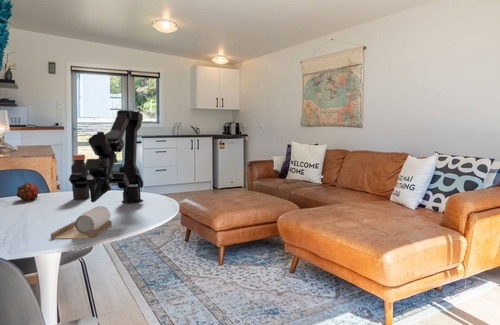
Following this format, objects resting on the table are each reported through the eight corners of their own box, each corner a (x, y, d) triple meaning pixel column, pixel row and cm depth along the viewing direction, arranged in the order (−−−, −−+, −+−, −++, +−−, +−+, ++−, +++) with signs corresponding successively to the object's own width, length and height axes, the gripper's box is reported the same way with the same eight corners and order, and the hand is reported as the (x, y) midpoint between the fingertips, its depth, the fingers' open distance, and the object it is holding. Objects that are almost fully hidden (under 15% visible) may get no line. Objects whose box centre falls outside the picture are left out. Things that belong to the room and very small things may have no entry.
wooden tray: (75, 225, 118) (75, 221, 118) (111, 225, 117) (111, 220, 117) (51, 238, 104) (50, 233, 104) (91, 238, 103) (91, 233, 103)
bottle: (80, 196, 168) (78, 154, 166) (93, 197, 166) (90, 154, 164) (69, 199, 161) (66, 155, 159) (82, 200, 159) (79, 155, 157)
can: (114, 218, 118) (99, 228, 106) (98, 228, 118) (81, 239, 106) (104, 202, 117) (87, 210, 105) (87, 211, 118) (69, 220, 106)
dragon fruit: (25, 206, 156) (28, 205, 167) (43, 193, 160) (44, 192, 170) (11, 191, 154) (14, 191, 165) (28, 178, 158) (31, 179, 168)
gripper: (69, 150, 121) (53, 187, 111) (124, 149, 121) (112, 187, 111) (82, 170, 130) (68, 207, 120) (133, 169, 129) (123, 206, 119)
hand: (92, 201), depth 117 cm, fingers closed
